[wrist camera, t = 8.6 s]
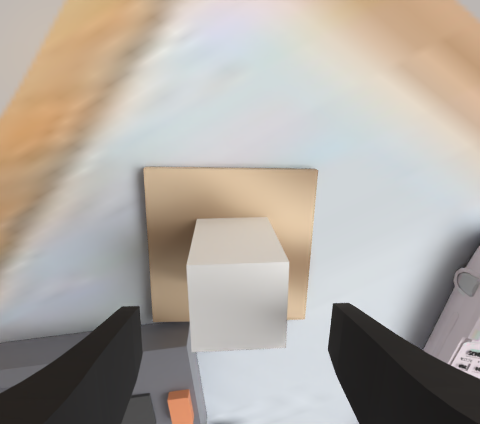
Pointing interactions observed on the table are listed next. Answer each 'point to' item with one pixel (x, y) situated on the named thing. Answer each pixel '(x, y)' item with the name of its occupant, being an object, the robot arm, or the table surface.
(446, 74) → the table surface
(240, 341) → the white rectangular block
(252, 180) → the cork coaster
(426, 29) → the table surface
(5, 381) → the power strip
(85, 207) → the table surface
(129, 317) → the robot arm
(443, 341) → the mobile phone
